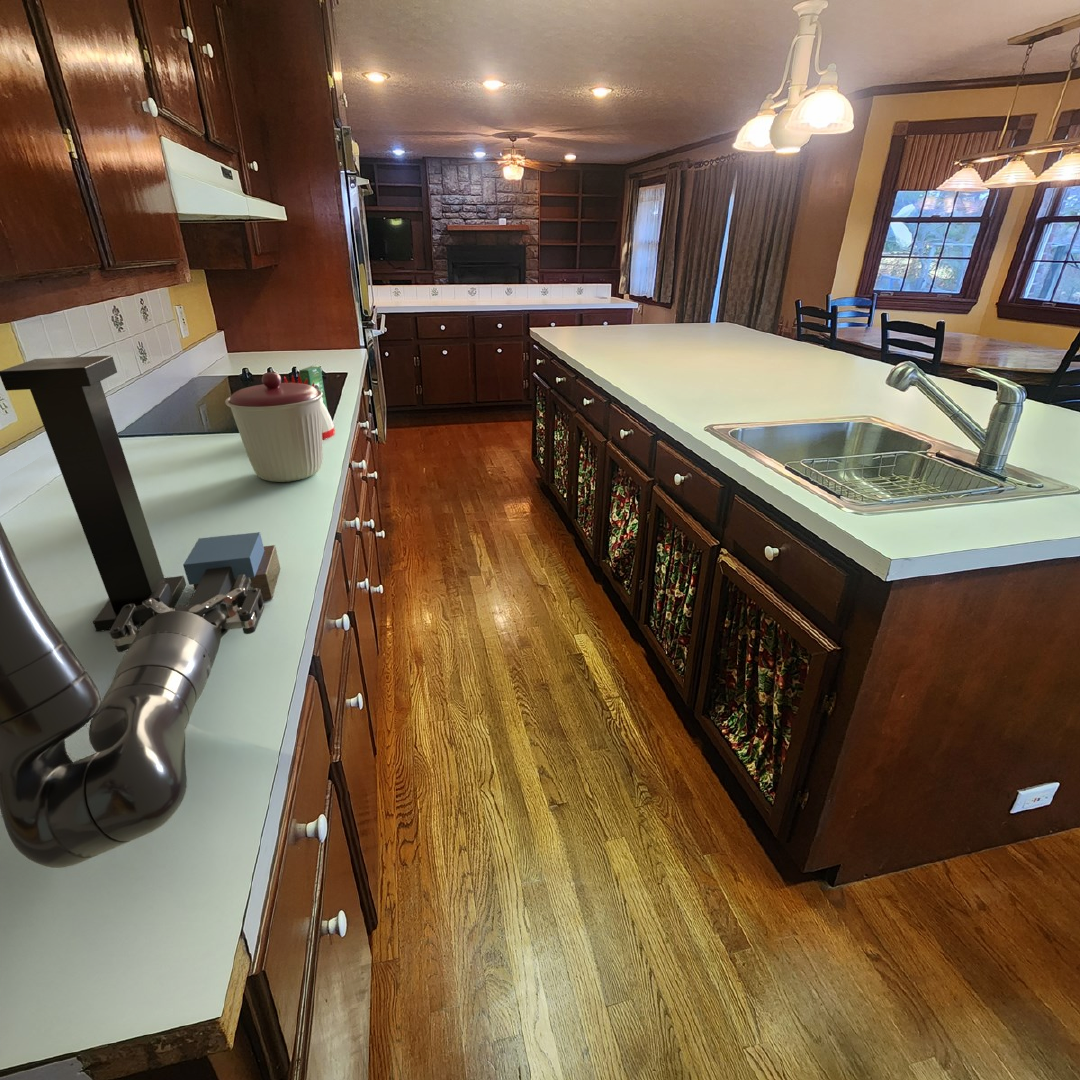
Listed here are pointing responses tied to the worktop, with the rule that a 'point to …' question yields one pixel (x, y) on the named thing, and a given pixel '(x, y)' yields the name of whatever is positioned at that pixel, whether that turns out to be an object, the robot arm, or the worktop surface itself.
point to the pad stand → (95, 476)
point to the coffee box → (314, 379)
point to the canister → (280, 428)
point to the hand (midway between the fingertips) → (206, 585)
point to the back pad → (222, 563)
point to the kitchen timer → (325, 416)
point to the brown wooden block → (264, 574)
